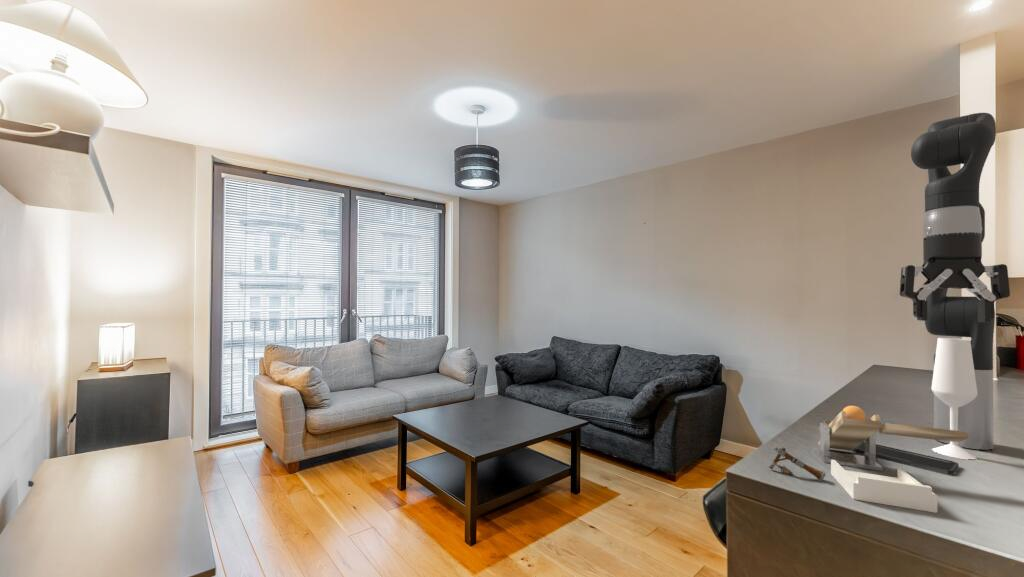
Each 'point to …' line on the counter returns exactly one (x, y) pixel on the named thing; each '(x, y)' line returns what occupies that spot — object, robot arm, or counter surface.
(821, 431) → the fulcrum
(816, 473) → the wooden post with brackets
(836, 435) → the lever
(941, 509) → the counter surface
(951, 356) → the champagne flute
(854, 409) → the ball
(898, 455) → the phone
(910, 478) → the tray
